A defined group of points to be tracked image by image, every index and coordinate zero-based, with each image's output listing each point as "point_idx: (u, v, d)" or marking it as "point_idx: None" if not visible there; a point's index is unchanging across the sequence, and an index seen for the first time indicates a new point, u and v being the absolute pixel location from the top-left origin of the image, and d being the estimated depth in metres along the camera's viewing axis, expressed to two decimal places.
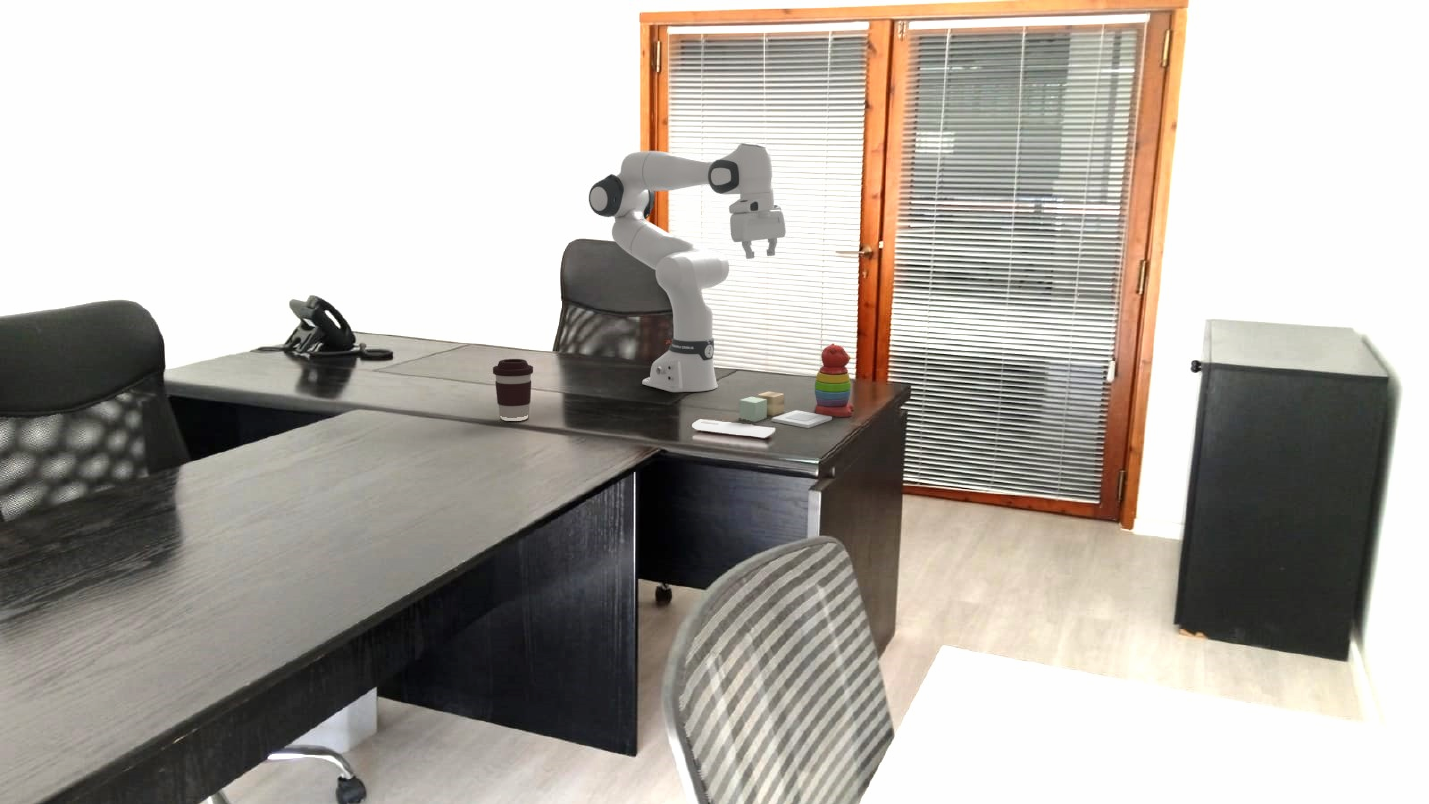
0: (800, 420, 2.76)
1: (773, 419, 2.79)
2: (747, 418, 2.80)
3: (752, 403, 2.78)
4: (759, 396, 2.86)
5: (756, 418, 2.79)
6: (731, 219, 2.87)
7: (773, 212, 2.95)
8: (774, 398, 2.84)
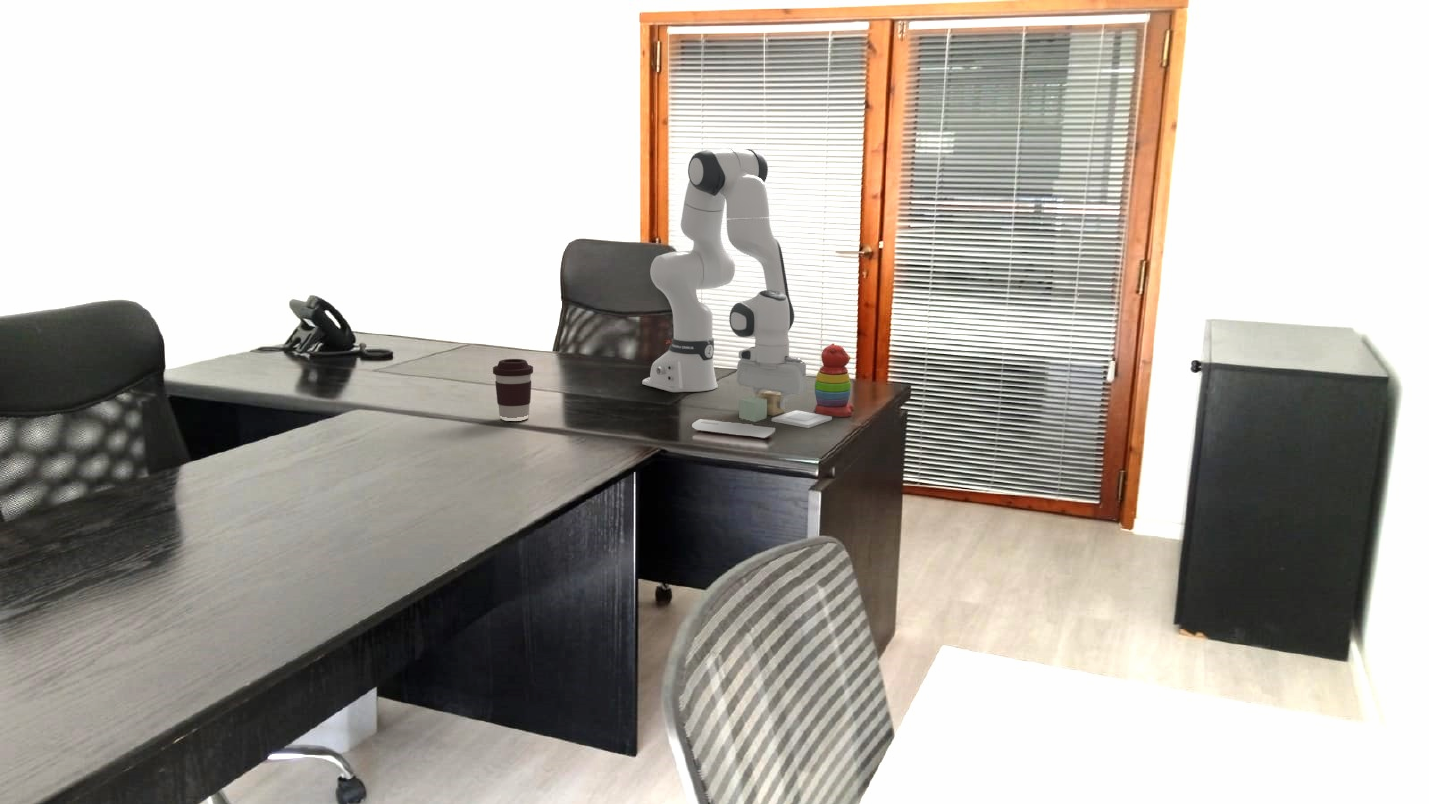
0: (800, 420, 2.76)
1: (773, 419, 2.79)
2: (747, 418, 2.80)
3: (752, 403, 2.78)
4: (759, 396, 2.86)
5: (756, 418, 2.79)
6: None
7: (782, 366, 2.81)
8: (774, 398, 2.84)
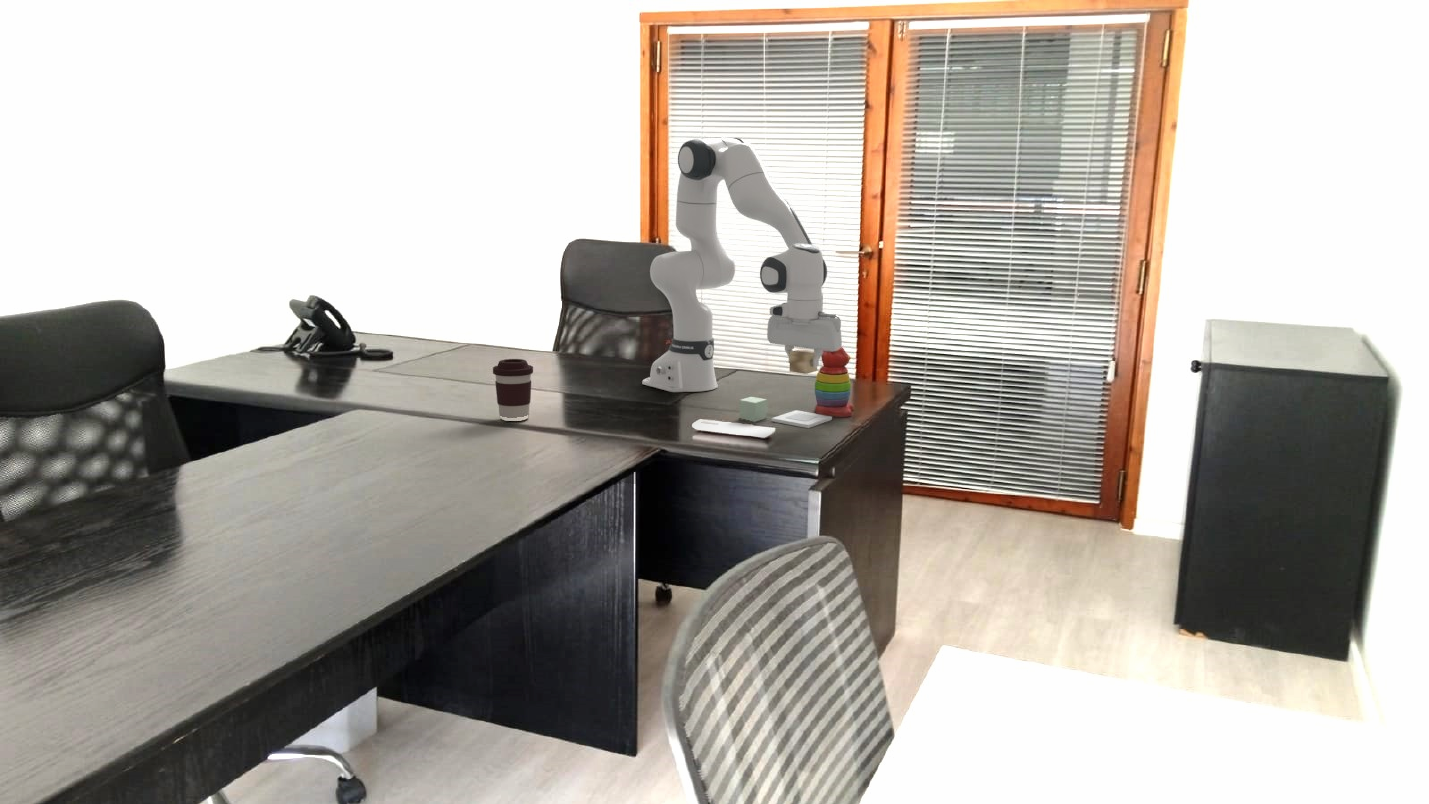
0: (800, 420, 2.76)
1: (773, 419, 2.79)
2: (747, 418, 2.80)
3: (752, 403, 2.78)
4: (791, 353, 2.75)
5: (756, 418, 2.79)
6: None
7: (816, 322, 2.70)
8: (807, 355, 2.73)
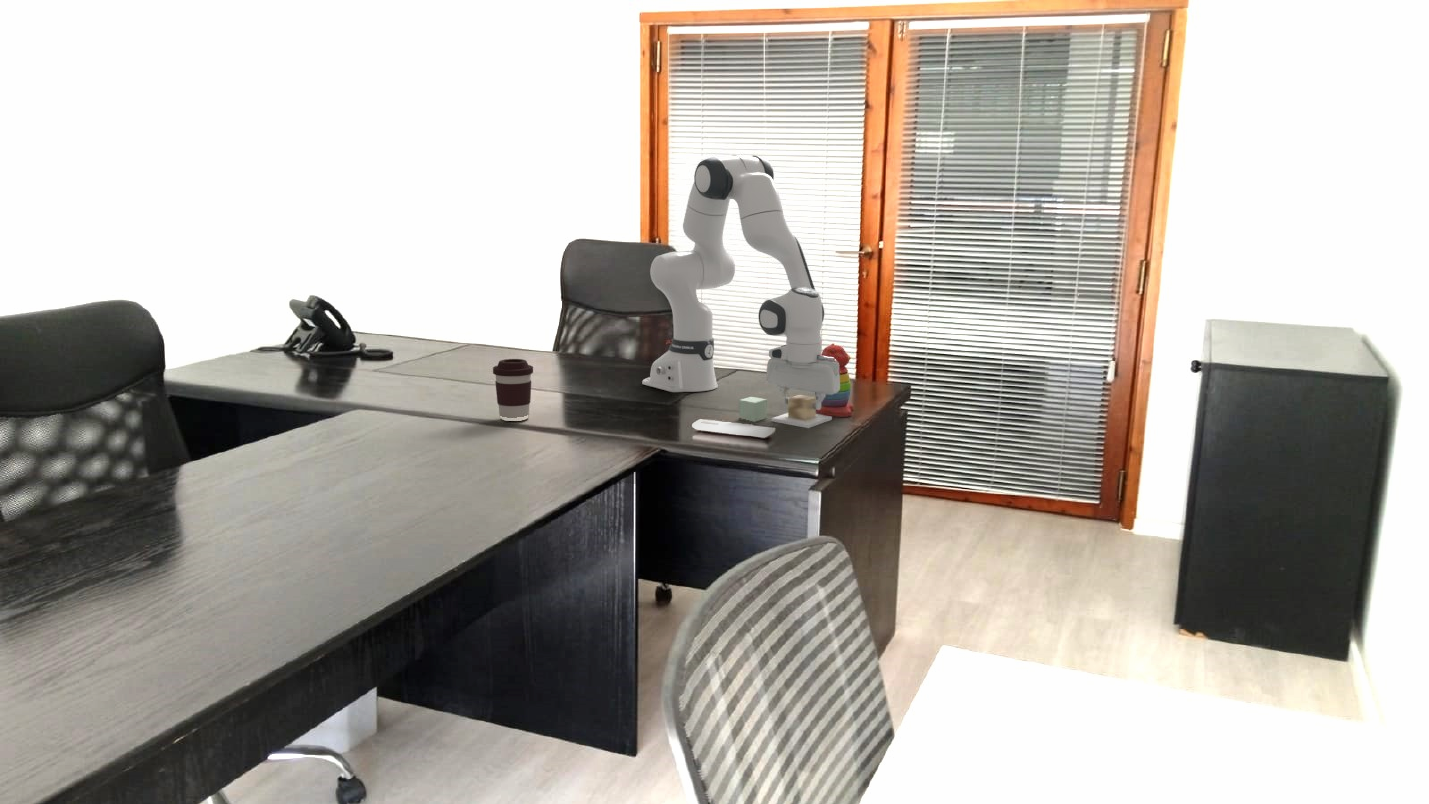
0: (800, 420, 2.76)
1: (773, 419, 2.79)
2: (747, 418, 2.80)
3: (752, 403, 2.78)
4: (790, 400, 2.78)
5: (756, 418, 2.79)
6: None
7: (815, 365, 2.72)
8: (805, 402, 2.76)
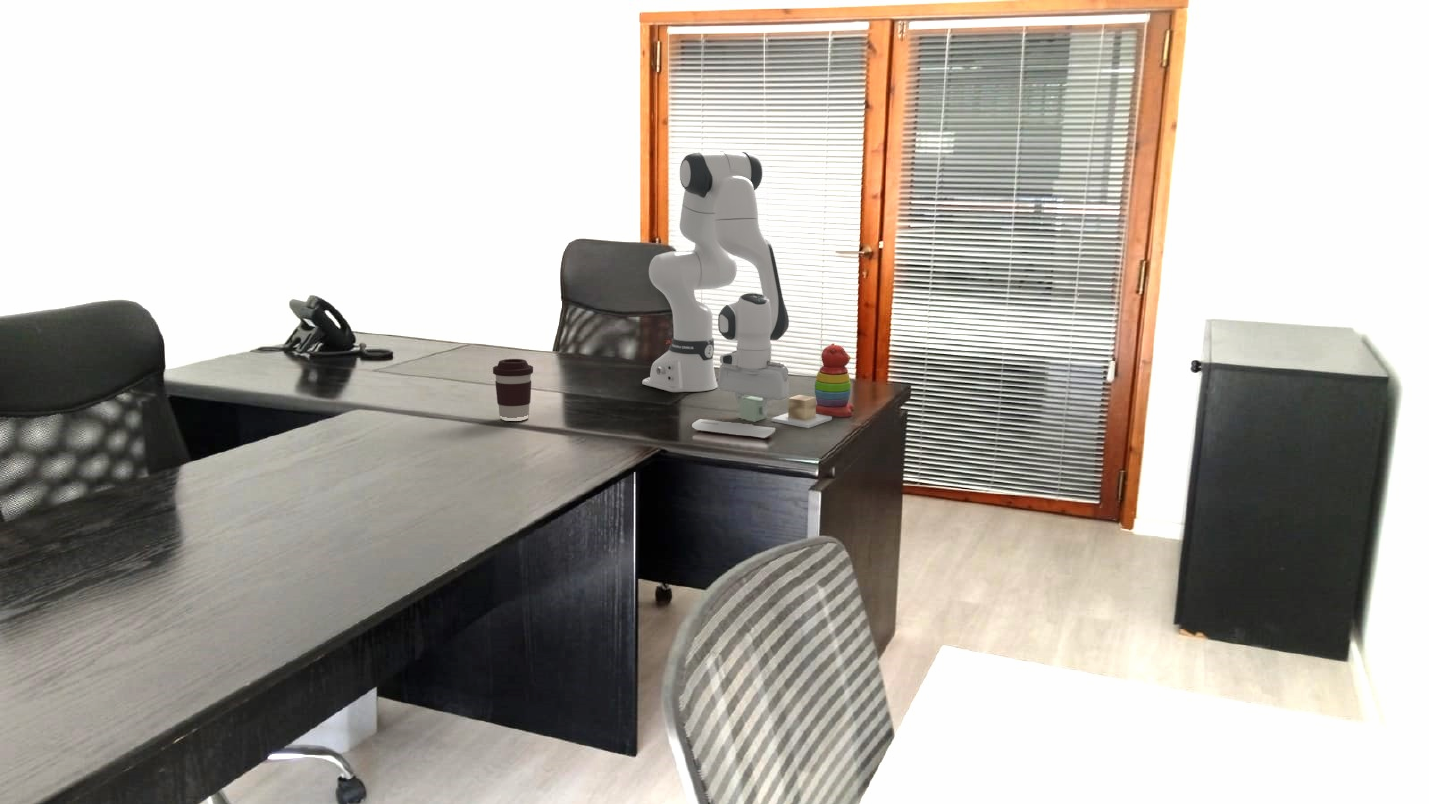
0: (800, 420, 2.76)
1: (773, 419, 2.79)
2: (747, 418, 2.80)
3: (752, 403, 2.78)
4: (790, 400, 2.78)
5: (756, 417, 2.79)
6: None
7: (764, 371, 2.75)
8: (805, 402, 2.76)
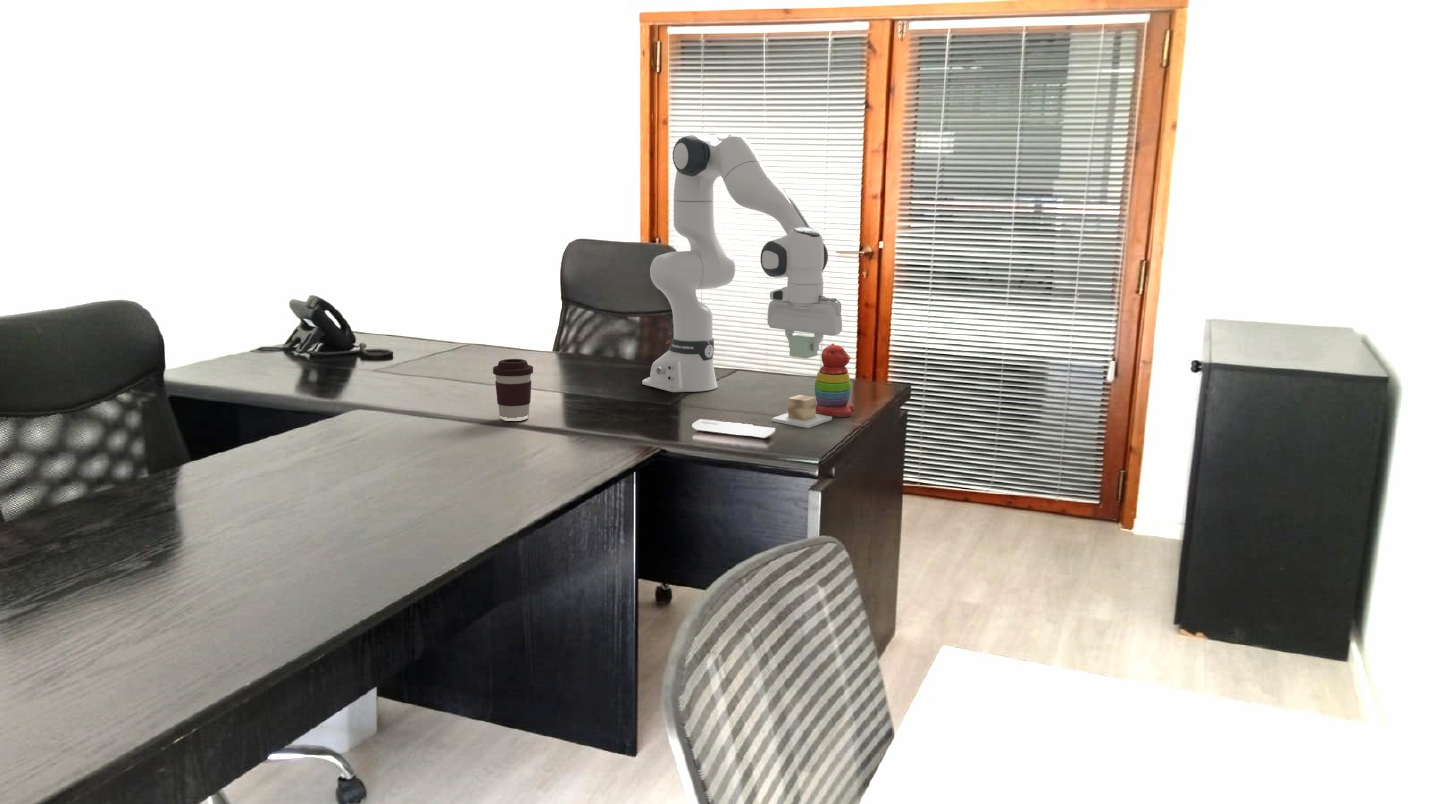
0: (800, 420, 2.76)
1: (773, 419, 2.79)
2: (798, 355, 2.74)
3: (803, 339, 2.72)
4: (790, 400, 2.78)
5: (807, 354, 2.73)
6: None
7: (816, 306, 2.69)
8: (805, 402, 2.76)
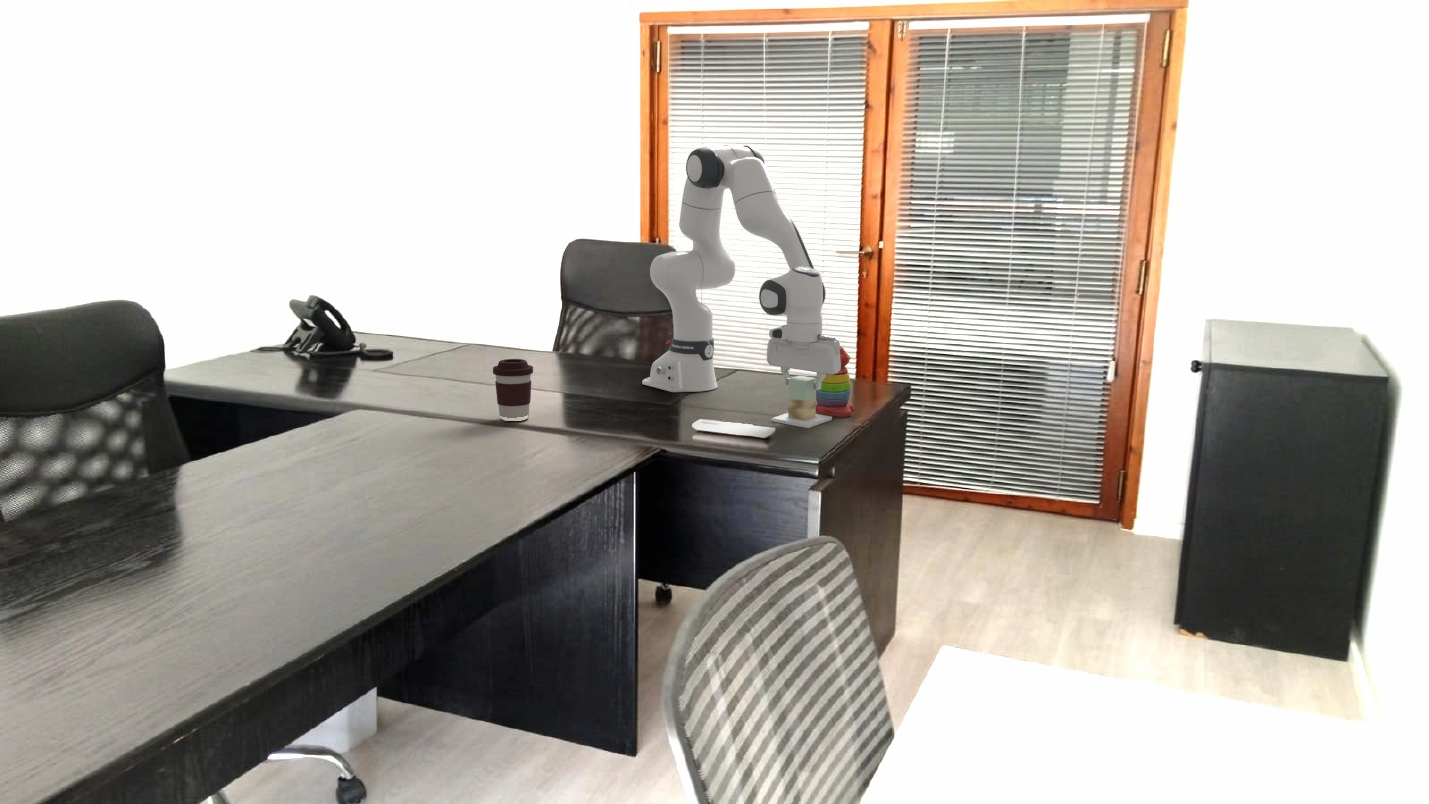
0: (800, 420, 2.76)
1: (773, 419, 2.79)
2: (797, 397, 2.76)
3: (802, 382, 2.75)
4: (790, 400, 2.78)
5: (806, 397, 2.75)
6: None
7: (815, 345, 2.71)
8: (805, 402, 2.76)
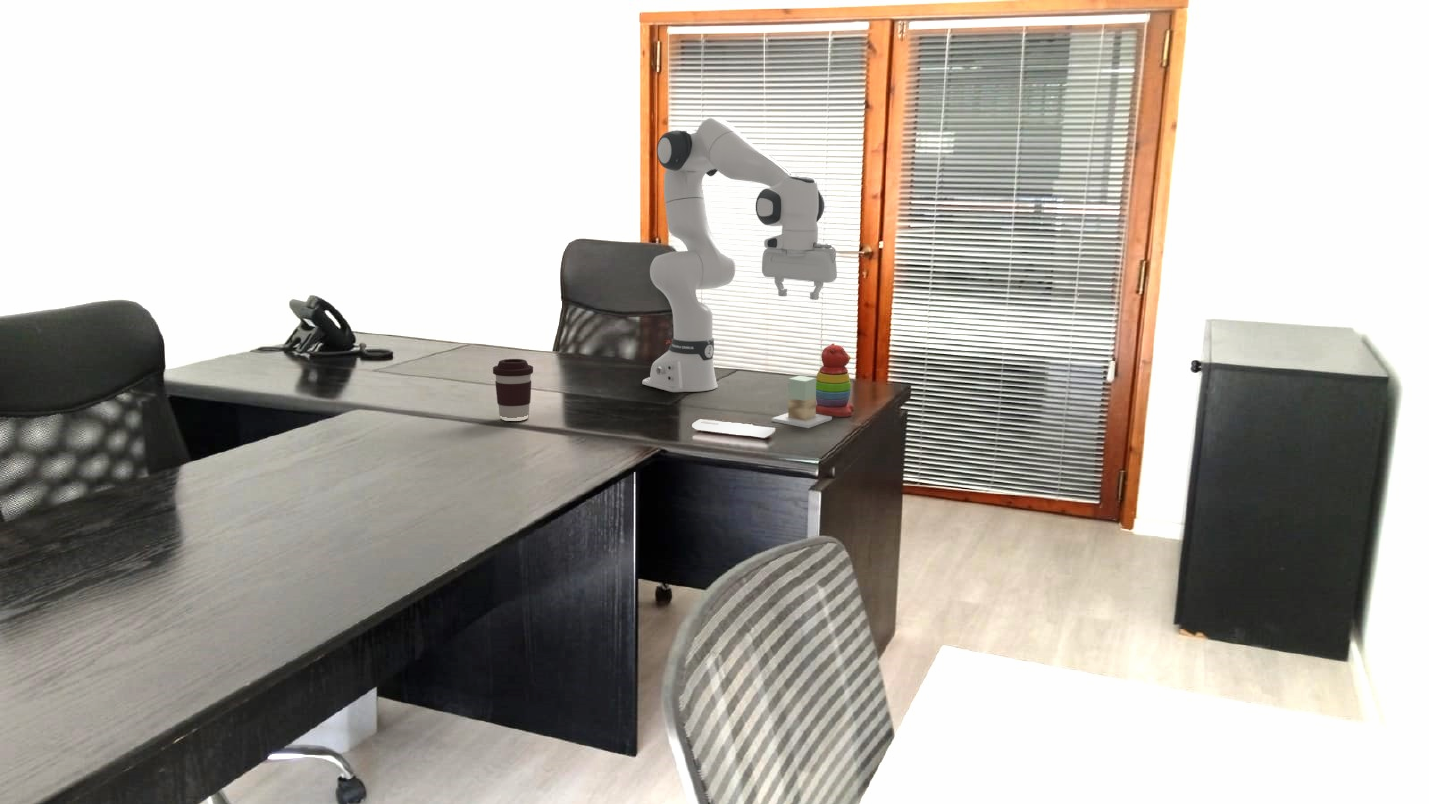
0: (800, 420, 2.76)
1: (773, 419, 2.79)
2: (797, 397, 2.76)
3: (802, 382, 2.75)
4: (790, 400, 2.78)
5: (806, 397, 2.75)
6: None
7: (811, 253, 2.67)
8: (805, 402, 2.76)
